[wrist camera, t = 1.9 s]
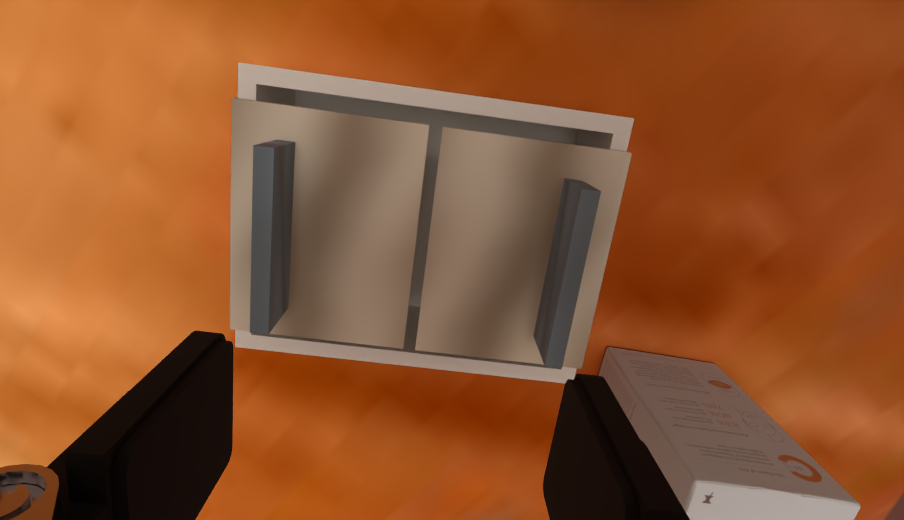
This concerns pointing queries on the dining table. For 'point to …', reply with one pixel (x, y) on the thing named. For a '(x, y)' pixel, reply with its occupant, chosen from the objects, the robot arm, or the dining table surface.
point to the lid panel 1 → (323, 222)
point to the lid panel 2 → (518, 247)
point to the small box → (719, 443)
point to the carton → (424, 186)
